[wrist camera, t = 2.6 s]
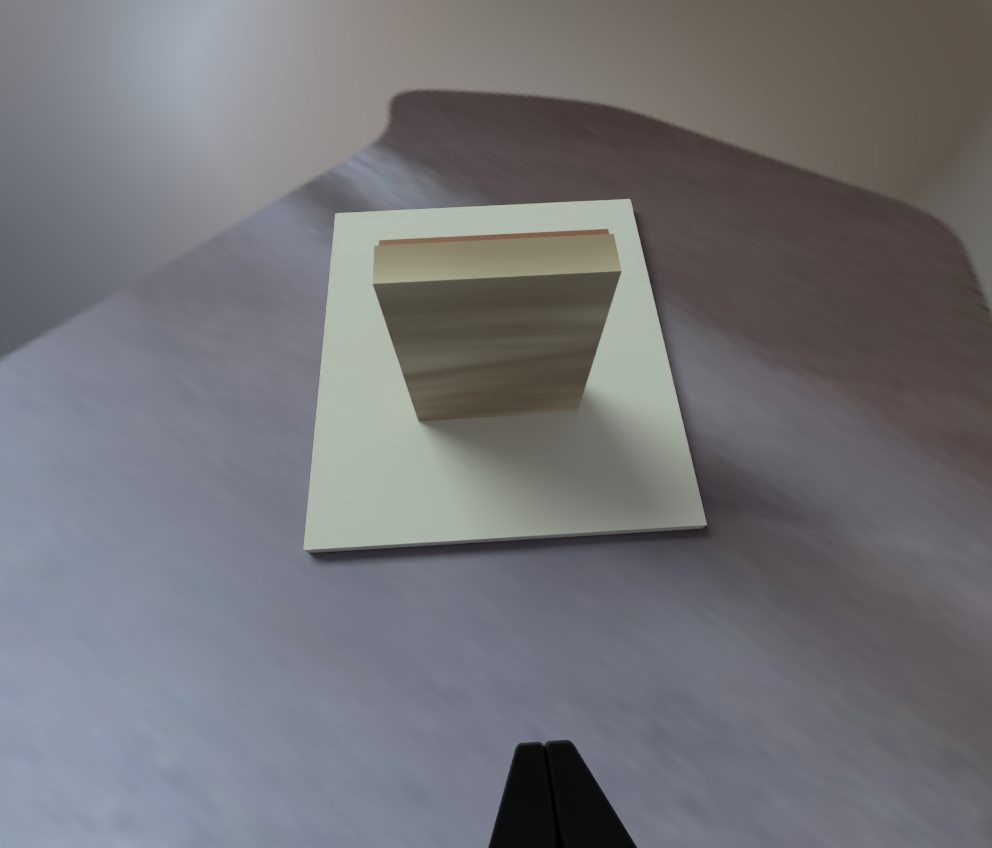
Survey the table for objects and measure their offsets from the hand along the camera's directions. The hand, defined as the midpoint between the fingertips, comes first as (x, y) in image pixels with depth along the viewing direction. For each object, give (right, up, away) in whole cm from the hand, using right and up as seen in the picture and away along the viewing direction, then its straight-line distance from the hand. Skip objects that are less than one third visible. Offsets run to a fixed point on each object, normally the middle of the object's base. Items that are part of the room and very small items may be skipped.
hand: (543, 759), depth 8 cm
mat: (-1, +9, +17) cm, 19 cm away
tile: (-1, +6, +15) cm, 16 cm away
